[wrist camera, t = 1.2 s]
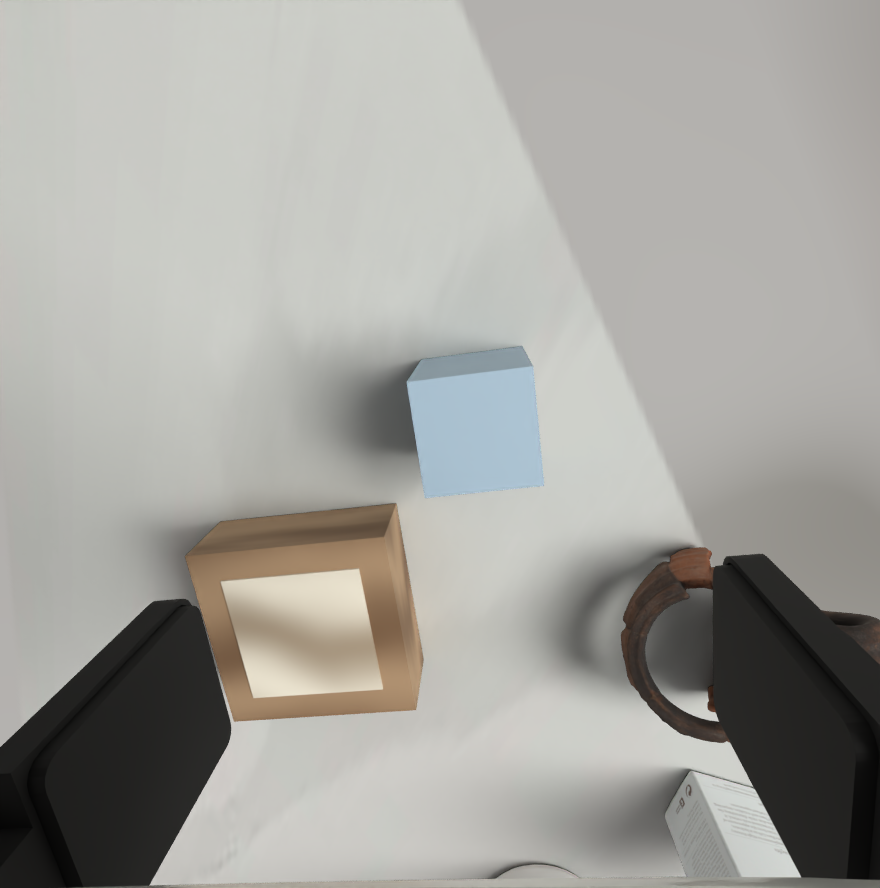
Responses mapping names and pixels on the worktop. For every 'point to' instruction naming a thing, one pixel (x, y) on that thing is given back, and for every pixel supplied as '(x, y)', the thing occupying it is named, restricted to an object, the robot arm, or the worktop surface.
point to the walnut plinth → (310, 613)
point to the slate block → (476, 422)
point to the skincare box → (725, 831)
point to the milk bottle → (536, 872)
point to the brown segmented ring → (671, 587)
